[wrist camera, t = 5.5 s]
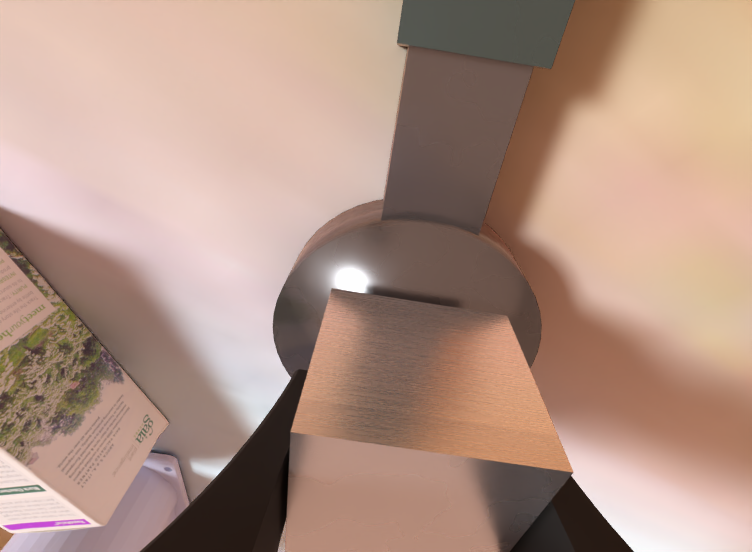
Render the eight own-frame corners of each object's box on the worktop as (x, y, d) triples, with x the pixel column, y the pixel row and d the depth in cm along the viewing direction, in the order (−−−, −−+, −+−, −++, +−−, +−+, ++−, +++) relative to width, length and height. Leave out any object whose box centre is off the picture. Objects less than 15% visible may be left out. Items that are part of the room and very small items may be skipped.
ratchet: (481, 397, 18) (512, 531, 13) (288, 369, 18) (244, 495, 13) (764, -233, 8) (1538, -843, 2) (299, -323, 7) (62, -1213, 2)
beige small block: (458, 425, 14) (484, 582, 10) (319, 405, 14) (284, 556, 10) (507, 315, 11) (573, 472, 7) (331, 287, 11) (290, 431, 7)
